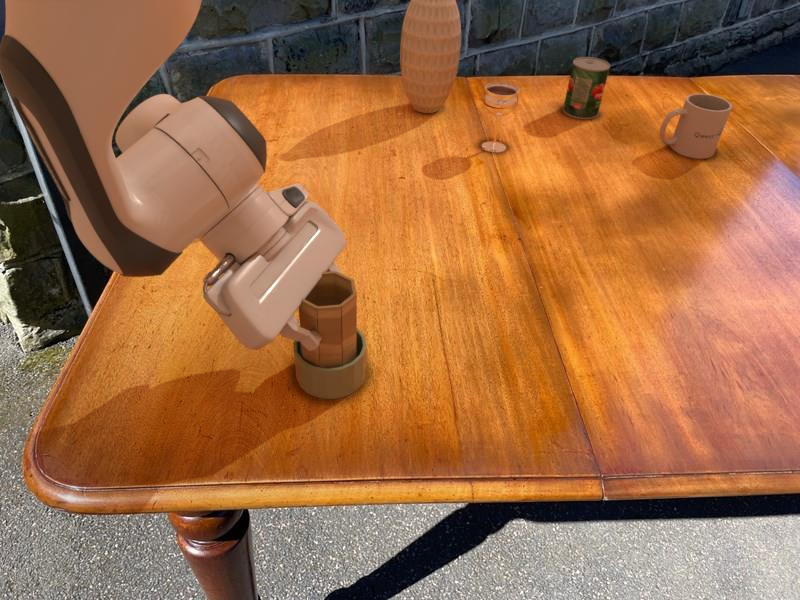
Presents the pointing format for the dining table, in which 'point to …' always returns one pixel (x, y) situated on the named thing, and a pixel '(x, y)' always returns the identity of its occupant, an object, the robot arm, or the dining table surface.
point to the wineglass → (499, 108)
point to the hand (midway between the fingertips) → (332, 322)
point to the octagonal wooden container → (331, 320)
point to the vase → (430, 52)
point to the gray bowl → (331, 374)
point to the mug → (698, 125)
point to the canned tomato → (586, 87)
